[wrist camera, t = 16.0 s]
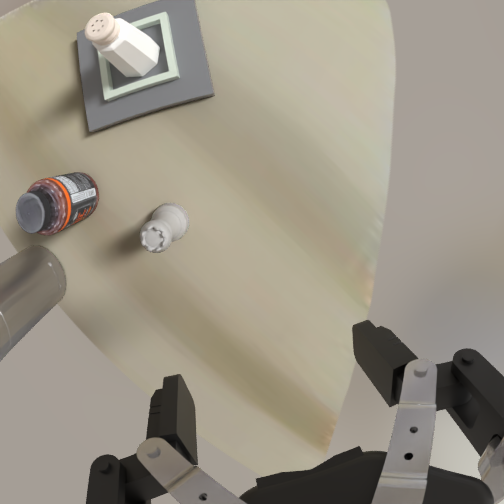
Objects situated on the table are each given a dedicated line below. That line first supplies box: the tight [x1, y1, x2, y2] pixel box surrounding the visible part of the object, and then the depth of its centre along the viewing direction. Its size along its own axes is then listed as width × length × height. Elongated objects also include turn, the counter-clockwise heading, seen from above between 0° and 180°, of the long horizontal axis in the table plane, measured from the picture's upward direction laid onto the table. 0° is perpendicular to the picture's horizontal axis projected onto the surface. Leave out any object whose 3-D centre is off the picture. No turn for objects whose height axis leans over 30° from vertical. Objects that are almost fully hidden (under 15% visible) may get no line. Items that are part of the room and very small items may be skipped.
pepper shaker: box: [85, 13, 160, 77], centre depth 23 cm, size 5×5×11 cm
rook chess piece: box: [140, 203, 189, 253], centre depth 32 cm, size 4×4×8 cm
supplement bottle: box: [16, 172, 99, 235], centre depth 29 cm, size 6×6×11 cm
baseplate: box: [77, 0, 215, 132], centre depth 28 cm, size 15×14×3 cm
